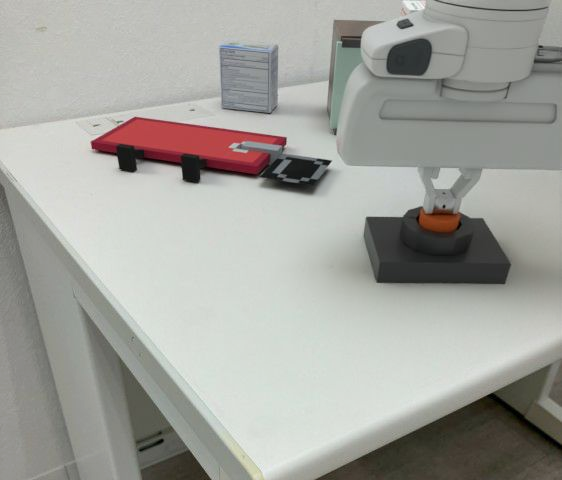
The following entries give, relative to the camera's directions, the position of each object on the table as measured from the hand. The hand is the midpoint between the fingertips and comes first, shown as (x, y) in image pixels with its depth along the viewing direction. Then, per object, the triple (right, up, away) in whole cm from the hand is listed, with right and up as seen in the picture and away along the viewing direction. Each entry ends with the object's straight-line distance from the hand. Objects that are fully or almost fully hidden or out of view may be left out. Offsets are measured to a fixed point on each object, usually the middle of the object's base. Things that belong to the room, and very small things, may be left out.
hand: (439, 211), depth 55 cm
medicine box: (-19, +26, +37) cm, 49 cm away
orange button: (0, -1, +1) cm, 2 cm away
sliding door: (-3, +19, +28) cm, 34 cm away
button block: (0, -4, +3) cm, 5 cm away
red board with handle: (-23, +12, +21) cm, 34 cm away
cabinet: (+2, +23, +34) cm, 41 cm away
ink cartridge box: (+8, +36, +50) cm, 62 cm away
